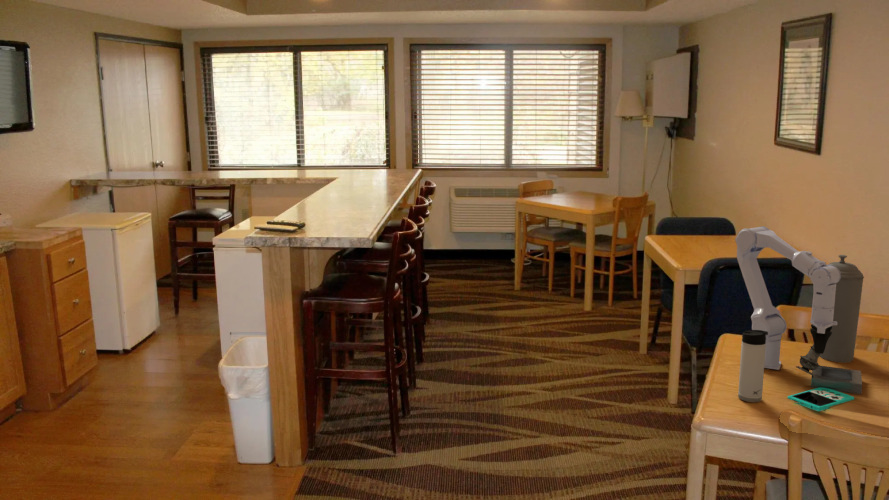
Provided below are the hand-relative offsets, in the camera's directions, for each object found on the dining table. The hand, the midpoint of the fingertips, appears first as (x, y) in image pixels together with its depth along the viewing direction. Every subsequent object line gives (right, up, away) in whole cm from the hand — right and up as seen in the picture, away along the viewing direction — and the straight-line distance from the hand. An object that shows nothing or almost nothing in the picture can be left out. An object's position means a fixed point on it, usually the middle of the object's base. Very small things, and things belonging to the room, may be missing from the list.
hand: (819, 350), depth 214 cm
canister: (+17, -6, +24) cm, 30 cm away
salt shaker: (-4, -6, +1) cm, 8 cm away
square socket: (+6, -10, +2) cm, 12 cm away
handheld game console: (-4, -13, -9) cm, 17 cm away
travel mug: (-24, -13, -9) cm, 29 cm away
